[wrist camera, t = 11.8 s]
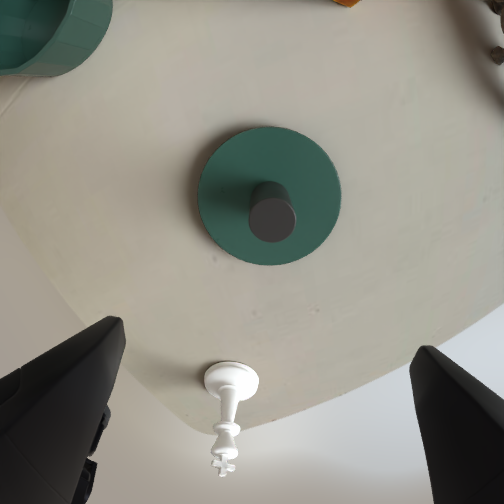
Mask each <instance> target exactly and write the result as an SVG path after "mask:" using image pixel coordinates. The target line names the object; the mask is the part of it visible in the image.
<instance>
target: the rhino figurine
mask: <svg viewBox="0 0 504 504" xmlns="http://www.w3.org/2000/svg"><path fill="white" fill-rule="evenodd" d="M492 3H493V6H494V9H495V12H496V13H497V14H499V15H501V28H502V31H503V33H504V0H492ZM491 55H492V57H493V59H494V61H495V63H496V64H497V65H501V64H502V63H503V62H504V49H503V48H501V47H500V46H497V47H496V48H495V49H494V51H493V52H492V53H491Z"/></svg>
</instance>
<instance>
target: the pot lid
mask: <svg viewBox="0 0 504 504" xmlns="http://www.w3.org/2000/svg"><path fill="white" fill-rule="evenodd" d="M198 207H199V212H200V215H201V219H202V221H203V224H204V226H205V228H206V230H207V231H208V233H209V234H210V236H211V237H212V238H213V240H214V241H215V242H216V243H217V244H218V245H219V246H220V247H221V248H222V249H224V250H225V251H226V252H228V253H229V254H231V255H232V256H234V257H236V258H238V259H240V260H243V261H246V262H249V263H253V264H258V265H281V264H286V263H290V262H293V261H296V260H299V259H301V258H303V257H305V256H307V255H308V254H310V253H311V252H313V251H314V250H315V249H316V248H318V247H319V246H320V245H321V244H322V243H323V242H324V241H325V240H326V238H327V237H328V236H329V234H330V233H331V231H332V229H333V228H334V226H335V224H336V221H337V219H338V216H339V212H340V208H341V185H340V180H339V177H338V173H337V171H336V169H335V167H334V164H333V163H332V161H331V159H330V158H329V156H328V155H327V154H326V153H325V152H324V150H323V149H322V148H321V147H320V146H319V145H317V144H316V143H315V142H314V141H312V140H311V139H309V138H308V137H306V136H304V135H302V134H300V133H298V132H296V131H292V130H289V129H285V128H280V127H260V128H254V129H250V130H246V131H244V132H241V133H239V134H237V135H235V136H233V137H232V138H230V139H228V140H227V141H226V142H224V143H223V144H222V145H221V146H220V147H219V148H218V149H217V150H216V151H215V152H214V153H213V154H212V156H211V157H210V158H209V160H208V162H207V163H206V165H205V167H204V169H203V172H202V174H201V177H200V181H199V185H198Z"/></svg>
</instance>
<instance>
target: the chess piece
mask: <svg viewBox="0 0 504 504" xmlns="http://www.w3.org/2000/svg"><path fill="white" fill-rule="evenodd" d="M204 379H205V381H204V383H205V387H206V389H207V391H208V392H209V393H210V394H211V395H213V396H214V397H216V398H218V399H220V400H221V421H220V422H217V423H215V424H214V426H213V429H214V432H215V433H216V434H217V435H219V436H218V438H217V440H216V442H215V444H214V445H213V447H212V449H211V453H212V454H213V456H214V457H216V458H219V459H220V461H217V460H213V461H212V463H211V466H212V467H215V468H219V473H218V475H219V476H222V477H224V476H226V473H227V471H231V472H233V471H234V470H235V465H232V464H228V463H227V462H228V460H229V459H233V458H235V457H236V456H237V455H238V451H237V448H236V446H235V442H234V438H233V436H236V435H238V434H239V432H240V427H239V426H238V425H237V424H236V423H233V422H234V417H235V413H236V409H237V405H238V401H243V400H246V399H248V398H250V397H251V396H253V395H254V394H255V392H256V391H257V388H258V383H259V379H258V376H257V374H256V373H255V371H254V370H253V369H251V368H250V367H248V366H246V365H244V364H241V363H238V362H220V363H217V364H215V365H213V366H211V367H210V368H209V369H208V370H207V371H206V373H205V376H204Z"/></svg>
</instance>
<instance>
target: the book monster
mask: <svg viewBox="0 0 504 504" xmlns="http://www.w3.org/2000/svg"><path fill="white" fill-rule="evenodd" d="M333 1H335V2H338V3H340V4H343V5H345V6H347V7H350V8H351V7H352V6H354V5H355V4H356V3H357V2H359V1H360V0H333Z"/></svg>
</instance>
